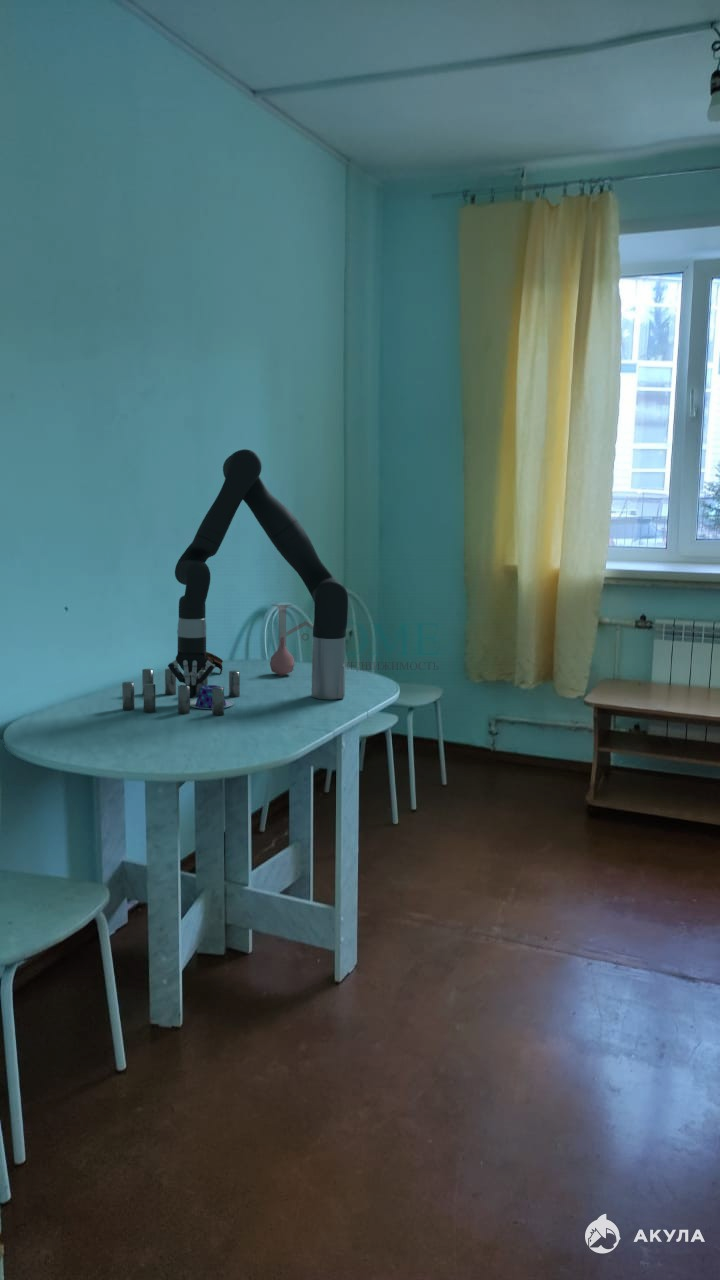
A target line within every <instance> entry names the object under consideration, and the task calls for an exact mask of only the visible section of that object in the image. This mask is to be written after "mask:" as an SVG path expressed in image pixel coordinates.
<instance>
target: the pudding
mask: <svg viewBox="0 0 720 1280" xmlns="http://www.w3.org/2000/svg"><path fill="white" fill-rule="evenodd" d="M213 687H221V686H220V685H212V684H210V685H207V686H202V687H201V688H200V690H199V694H198V696H197V699H194V700H193V699H192V700H190V707H191V708H196V709H201V710H202V709H203V710H212V688H213ZM233 705H234V702H233V701H232V700H230V699H226V698H225V697H224V709H225V708H228V707H231V706H233Z"/></svg>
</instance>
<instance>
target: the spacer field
mask: <svg viewBox="0 0 720 1280" xmlns="http://www.w3.org/2000/svg"><path fill="white" fill-rule="evenodd" d="M205 671H206V670H200V671H199V676H198V678H200V677H201V676H202V675H203V674H204V673H205ZM141 675H142V686H141V687H142V695H143V712H144V713H147V714H149V713H150V714H151V713H155V712H156V711H157V710H156V709H157V708H156V684H155V683H154V669H153V668H143V669H142V670H141ZM208 678H209V676H208V677H207V678H206V679H205V680H204V681H203V682H202V683H199V684H198V694H199V690H200V688H201V687H202V686H207V685H208V683H209V679H208ZM121 686H122V687H121V688H122V693H121V694H122V710H123V711H133V710H135V682H134V681H123V682H122V685H121ZM240 686H241V671H240V670H229V671H228V697H230V698H239V697H240V696H241V694H240V693H241V690H240V689H241V688H240ZM198 694H197V696H196V697H198ZM164 695H165V696H166V695H167V696H175V695H177V697H178V698H177V713H178V714H179V715H187V714H190V713H191V706H190V702H191V699H190V686H189V685H186V684H180V685H177V678H176V677H175V675H174V674H173V673H172V671H171V670H170V669H169V668H165V669H164ZM224 698H225V687H224V686H220V687H213V688H212V709H211V715H212V716H213V717H214V716H215V717H222V716H225V708H224V707H225V706H224Z"/></svg>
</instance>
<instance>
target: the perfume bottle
mask: <svg viewBox="0 0 720 1280" xmlns="http://www.w3.org/2000/svg"><path fill="white" fill-rule="evenodd" d="M269 661H270V662H269V666H270V667H269V668H270V669H271V672H273V673H274V674H277V675H278V676H280V677H285V676H286V675H287V674H290V673H292V672H293V669H294V667H295V659H294V656H293V655H292V654H291V653H290V652H289V650H288V648H287V647H286V637H285V636H280V637H279V646H278V648H277V650H276V651H275V652H274V653H273V654H272V655H271V657H270V660H269Z"/></svg>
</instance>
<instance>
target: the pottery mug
mask: <svg viewBox="0 0 720 1280" xmlns="http://www.w3.org/2000/svg"><path fill="white" fill-rule="evenodd" d="M206 655H207V657H208V661H209V662H210V663H212V664H215V668H218V669H219V670H220V672H219V675H222V673H223V662H224V661H223V659H222V658H220V657H219V656H217V655H215V654H213V653H211V652H208V651H206ZM205 667H206V664H205V665H204V667H203V668H202V669H201V670H206V669H205Z"/></svg>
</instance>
